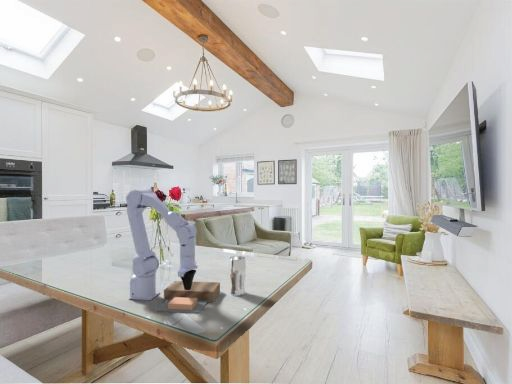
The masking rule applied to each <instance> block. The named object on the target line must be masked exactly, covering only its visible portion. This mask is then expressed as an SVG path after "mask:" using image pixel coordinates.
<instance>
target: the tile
mask: <svg viewBox="0 0 512 384" xmlns="http://www.w3.org/2000/svg"><path fill="white" fill-rule="evenodd" d="M196 304H197V298H184V297H174V298H173V299H172V300H171V301H170V302H169V303H168V309H180V310H192V309H193V308H194V307H195V306H196Z"/></svg>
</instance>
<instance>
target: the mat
mask: <svg viewBox="0 0 512 384" xmlns="http://www.w3.org/2000/svg"><path fill="white" fill-rule="evenodd" d="M171 300H172V299H168V300H165V301H164V302H163V304H162V305H160V306H159V307H158V308H157V309H156V312H163V313H165V312H166V313H182V314H183V313H185V314H187V313H188V314H200V313H201V312H202V310H204V308H205V307H206V306H207V304H208V303H209V302H208V301H204V300H197V304H196V306H195V307H194V308H193V309H192V310H180V309H168V303H169V302H170V301H171Z"/></svg>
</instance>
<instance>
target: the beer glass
mask: <svg viewBox="0 0 512 384" xmlns="http://www.w3.org/2000/svg"><path fill="white" fill-rule="evenodd" d="M228 267H229V276H230V285H231V288H230V295H231V296H234V297H240V296H242V297H243V296H244V295H245V294H246V290H245V281H246V280H245V279H246V272H247V262H246V256H241V255H237V256H236V255H234V256H231V257H229V266H228Z"/></svg>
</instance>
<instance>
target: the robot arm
mask: <svg viewBox="0 0 512 384" xmlns="http://www.w3.org/2000/svg"><path fill="white" fill-rule="evenodd" d="M125 201H126V204H127V205H126V206H127V207H126V214H127V218H128V223H129V227H130V233H131V235H132V240H133V241H132V242H133V244H134V245H133V246H134V249H135V254H134V256H133V257H132V260H131V261H132V273H133V275H132V276H131V277H130V280H129V297H128V299H129V300H141V301H151V300H152V299H154V298H155V297H156V296H158V295H159V294H161V293H160V291H157V287H156V285H157V283H156V281H157V280H156V279H157V278H156V273H157V270H158V269H159V267H160V261H159V259H158V258H157V256H156V252H155V251H153V250H152V249H151V247H150V242H149V239H148V233H147V228H146V225H145V221H144V217H143V213H144V211H145V210H146V209H147V208H148V207H151V208H152V209H154V210H155V211H156V212H157V213H159V215H161V216H162V217H164V222H165V223H166V224H167V225H168V226H169V227H170V228H171V229H172V230H174V232H175V233H176V236H177V238H178V242H179V269H178V271H177V277H180V280H181V281H182V282H183V285H184V289H185V290H190V289H191V286H192V282H194V281H193V280H194V278H195V275H196V272H197V269H198V268H199V265H197V261H196V247H195V246H196V241H195V240H196V239H195V238H196V236H197V234H198V228H197V226H196V225H195V223H193V222H189V220H186V219H185V218H184V217H183V216H182V215H181V213H180V212H179V211H175V210H173V211H172V210H170V209H169V207H168V206H167V205H166V204H165V203H164V202H163V201H162V200H161V199H160V198H159V197H158V196H157V194H156V193H155V192H154V191H153V190H151V189H131V190H130V191H128V194H127V195H126V196H125Z"/></svg>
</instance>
